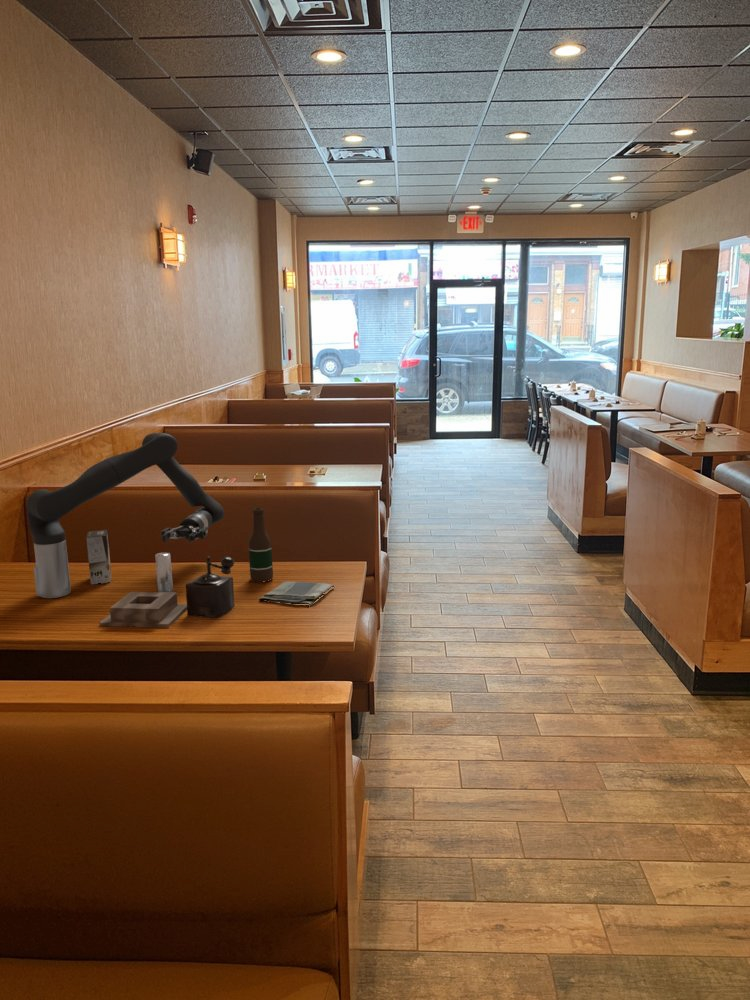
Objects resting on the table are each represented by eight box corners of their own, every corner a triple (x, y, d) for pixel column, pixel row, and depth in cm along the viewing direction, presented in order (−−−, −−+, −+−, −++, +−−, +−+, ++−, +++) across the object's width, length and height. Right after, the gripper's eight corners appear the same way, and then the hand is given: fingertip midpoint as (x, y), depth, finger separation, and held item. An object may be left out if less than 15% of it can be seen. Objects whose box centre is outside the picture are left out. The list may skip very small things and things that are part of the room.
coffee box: (111, 582, 250) (106, 535, 247) (90, 585, 248) (85, 537, 245) (111, 575, 259) (107, 529, 255) (91, 577, 257) (87, 531, 253)
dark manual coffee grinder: (184, 616, 218) (180, 555, 214) (204, 603, 228) (200, 545, 225) (233, 621, 213) (229, 559, 210) (251, 608, 224) (248, 549, 220)
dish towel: (284, 585, 246) (284, 575, 245) (335, 590, 240) (335, 580, 239) (257, 603, 229) (256, 593, 228) (311, 609, 223) (311, 599, 222)
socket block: (99, 625, 211) (97, 608, 210) (124, 606, 227) (122, 590, 226) (168, 627, 209) (167, 610, 208) (188, 607, 225) (187, 591, 224)
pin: (156, 600, 232) (152, 556, 229) (162, 595, 236) (158, 552, 233) (170, 600, 231) (167, 556, 228) (175, 595, 236) (172, 552, 233)
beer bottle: (245, 579, 251) (241, 508, 246) (266, 574, 256) (262, 505, 251) (256, 584, 245) (253, 512, 240) (277, 579, 250) (274, 508, 245)
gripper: (172, 515, 258) (154, 527, 242) (213, 515, 256) (197, 527, 241) (174, 536, 259) (156, 550, 244) (215, 536, 258) (199, 550, 242)
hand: (177, 538), depth 242 cm, fingers open, 8 cm apart
